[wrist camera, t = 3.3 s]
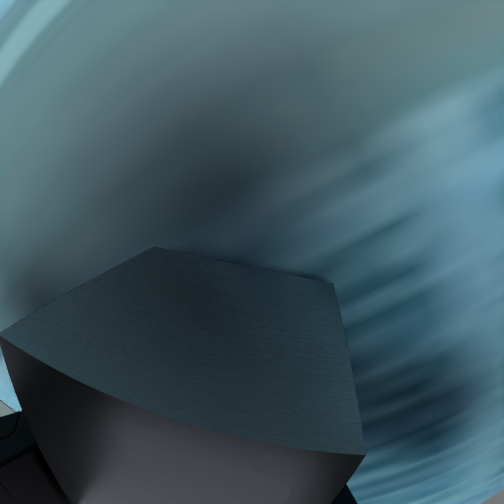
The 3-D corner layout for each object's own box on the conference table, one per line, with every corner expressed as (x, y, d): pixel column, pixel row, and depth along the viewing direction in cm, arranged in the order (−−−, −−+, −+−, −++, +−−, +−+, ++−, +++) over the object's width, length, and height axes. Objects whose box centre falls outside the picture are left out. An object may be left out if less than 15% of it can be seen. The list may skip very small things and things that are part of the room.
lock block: (333, 283, 7) (365, 454, 2) (269, 476, 9) (246, 588, 4) (153, 246, 8) (-3, 334, 3) (155, 446, 10) (100, 541, 5)
